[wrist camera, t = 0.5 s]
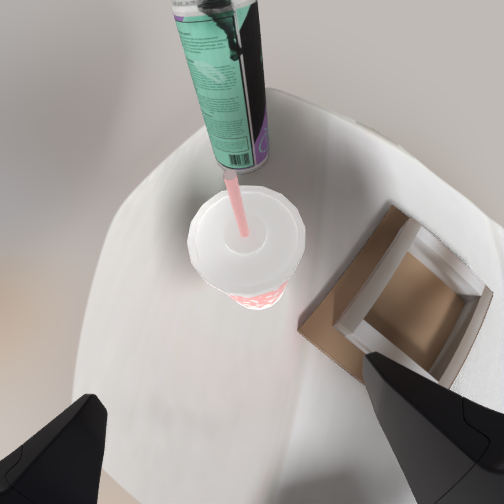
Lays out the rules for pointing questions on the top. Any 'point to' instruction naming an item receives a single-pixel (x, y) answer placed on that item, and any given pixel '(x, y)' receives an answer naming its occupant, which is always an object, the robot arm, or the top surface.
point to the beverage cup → (247, 242)
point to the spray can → (227, 77)
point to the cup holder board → (402, 304)
